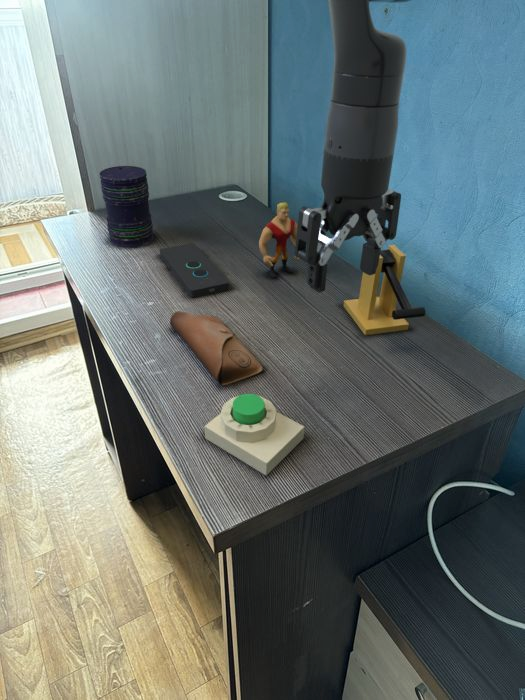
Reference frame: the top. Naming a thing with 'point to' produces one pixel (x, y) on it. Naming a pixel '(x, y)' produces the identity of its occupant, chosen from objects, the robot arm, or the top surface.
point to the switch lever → (398, 290)
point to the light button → (248, 409)
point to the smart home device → (194, 270)
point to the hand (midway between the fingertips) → (343, 280)
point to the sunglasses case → (215, 347)
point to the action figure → (278, 237)
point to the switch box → (255, 437)
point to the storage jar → (127, 206)
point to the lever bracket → (378, 300)
